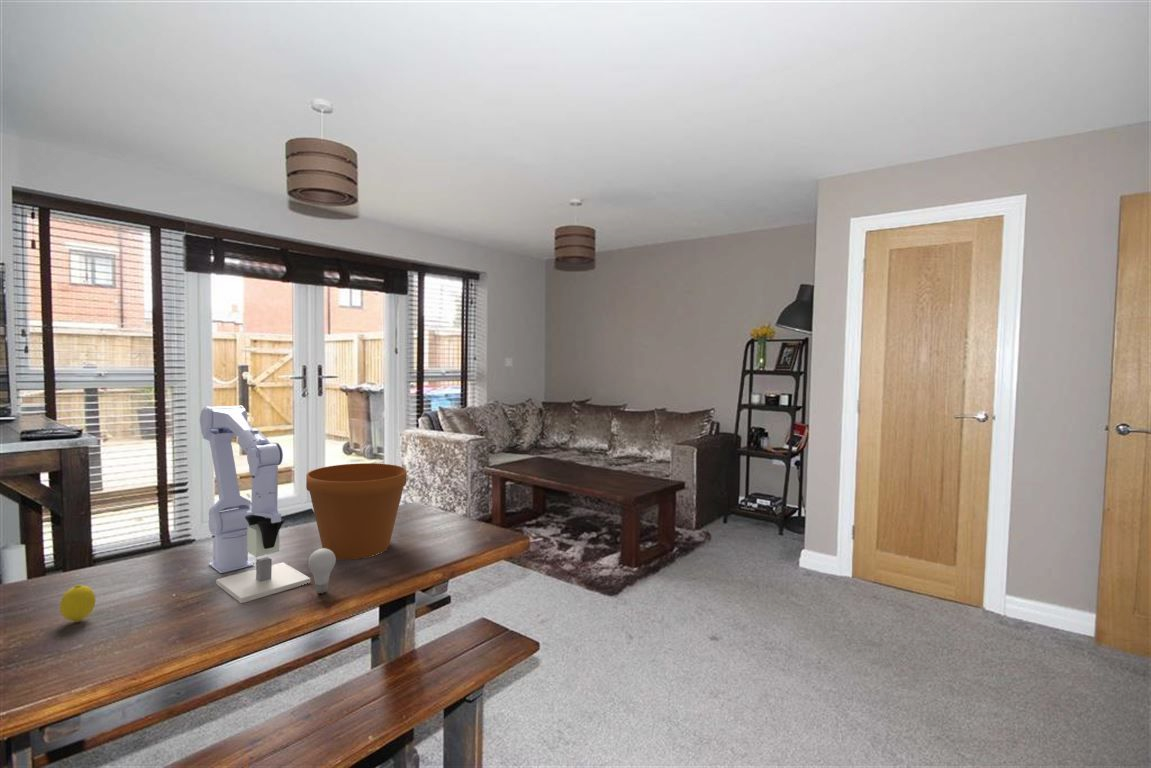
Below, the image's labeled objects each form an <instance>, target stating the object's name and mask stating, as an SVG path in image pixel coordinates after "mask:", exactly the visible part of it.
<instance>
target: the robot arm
mask: <svg viewBox="0 0 1151 768" xmlns="http://www.w3.org/2000/svg"><path fill="white" fill-rule="evenodd" d="M199 424H200V430H201V435H202V439H204V440H206V441H208V442H209V446H210V449H211V456H212V465H213V468H214V476H215V481H216V488H217V495H218V501H217V502H216V503H214V504H213V505H212V506H211V507H210V508H209V510H208V529H209V532H210V534H211V535H213V538H214V539H213V542H212V561H211V562H209V563H208V565H209V566H210V567H212V569H215V570H216V571H217V572H219V574H223V573H229V572H233V571H237V570H241V569H245V568H249V567H253V566H254V565H255V564H254V563H253V562H252V561H250V560H249V552H247V526H250V525H255V524H258V526H259V528H260V530H261V534H262V540H263V546H264V549H268V548H272V547H274V545H275V542H276V538H277V535H278V532H279V533H280V529H281V527H282V526H283V524H284V522H285V520H284V518H282V513H280V511H279V507H278V493H279V492H278V489H279V486H278V485H279V484H278V483H279V482H278V481H279V479H278V478H279V477H278V476H279V475H278V474H279V466H281V465H282V462H283V459H284V458H283V456H284V453H283V452H284V451H283V448H282V446H281V445H280V443H279V442H273V441H272V442H271V441H269V439H268V438H266V436H265V435H264V434H263V433H262V431H260V430H259V429H258V428H255V427H254V428H252V426H251V425H250V423H249V422H248V413H247V409H246V408H245V407H244V406H243V405H241V404H238V405H223V406H222V405H221V406H204V407H203V408H202V410H201V412H200V416H199ZM235 438H237V444H238V445H239V447H240V448H241V449H242V450H243V452H244V453H245V454H246V460H247V465H248V471H249V475H250V476H251V497H250V498H251V500H249V499H248V498H245V497H243V496H241V493H240V487H239V486H240V485H239V481H238V476H237V475H238V474H237V468H236V463H235V456H234V451H233V445H232V441H233V439H235Z"/></svg>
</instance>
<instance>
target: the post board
mask: <svg viewBox="0 0 1151 768" xmlns="http://www.w3.org/2000/svg"><path fill="white" fill-rule="evenodd" d="M272 563H273V562H272V558H270V557H268V556H265V557H260V558H257V559H256V564H255V565H256V567H255V569H252V570H248V571H243V572H239V573H236V574H232V575H228V576H224V577H220V578H217V579H216V580H215V583H216V585H217V586H218V587H219V588H221V590H223V591H225V592H226V593H227V594H229V596H231V597H232V598H234V599H235V600H236V601H237V602H239V603H240V604H244V603H247V602H250V601H253V600H257V599H261V598H264V597H267V596H271V595H273V594H277V593H278V594H279V593H281V592H285V591H287V590H291V589H295V588H298V587H301V585H302V586H304V584H305V585H308V584H311V577H309V576H307V575H306V574H304V573H302V572H300V571H299V570H297V569H296V568H294V567H292V566H290V565H289V564H287V563H285V562H279V563H275V564H272ZM307 583H308V584H307Z"/></svg>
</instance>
